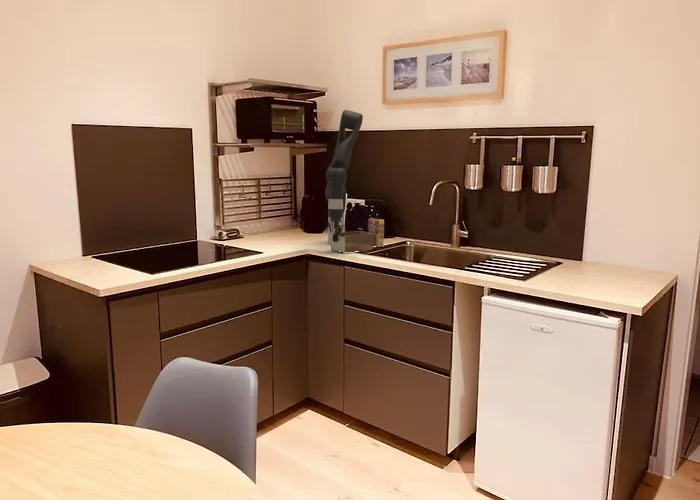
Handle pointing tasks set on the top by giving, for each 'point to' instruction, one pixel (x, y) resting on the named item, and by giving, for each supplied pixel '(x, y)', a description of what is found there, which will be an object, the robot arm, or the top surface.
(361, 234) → the sleeve
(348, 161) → the robot arm
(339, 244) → the grey boxy piece
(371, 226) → the candy box
